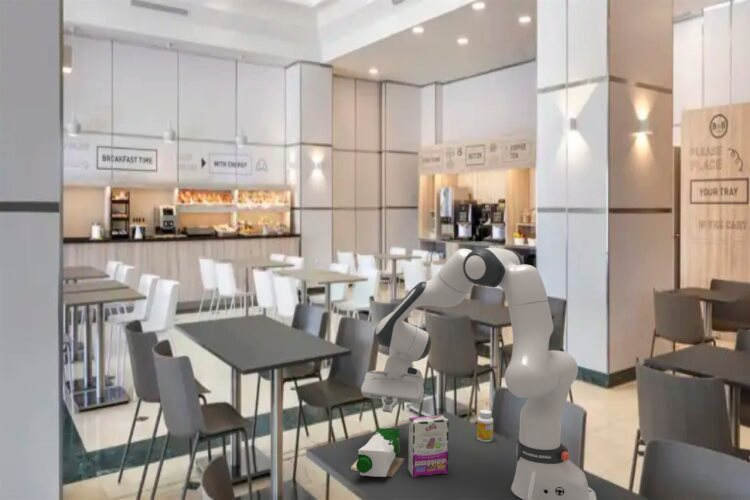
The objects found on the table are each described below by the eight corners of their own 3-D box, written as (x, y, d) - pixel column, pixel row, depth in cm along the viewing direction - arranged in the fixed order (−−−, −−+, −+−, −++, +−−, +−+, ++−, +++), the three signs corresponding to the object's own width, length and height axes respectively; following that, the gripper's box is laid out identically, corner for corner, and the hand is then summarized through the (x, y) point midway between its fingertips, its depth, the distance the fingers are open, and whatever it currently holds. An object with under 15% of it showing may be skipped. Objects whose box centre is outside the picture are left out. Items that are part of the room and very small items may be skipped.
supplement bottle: (473, 437, 208) (474, 409, 207) (487, 435, 210) (488, 408, 209) (481, 442, 203) (482, 414, 202) (495, 441, 204) (496, 413, 204)
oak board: (403, 461, 187) (404, 458, 187) (392, 476, 175) (392, 474, 175) (364, 454, 191) (364, 452, 191) (350, 469, 180) (350, 467, 179)
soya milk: (374, 425, 190) (353, 450, 171) (402, 426, 188) (384, 452, 169) (376, 452, 191) (355, 480, 172) (404, 453, 188) (386, 482, 169)
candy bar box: (441, 467, 183) (443, 414, 182) (448, 474, 178) (449, 419, 177) (406, 470, 180) (408, 416, 179) (412, 477, 175) (413, 422, 174)
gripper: (365, 364, 199) (353, 402, 190) (425, 371, 192) (416, 410, 184) (369, 374, 204) (358, 411, 195) (428, 381, 197) (419, 420, 188)
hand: (386, 411), depth 189 cm, fingers closed
